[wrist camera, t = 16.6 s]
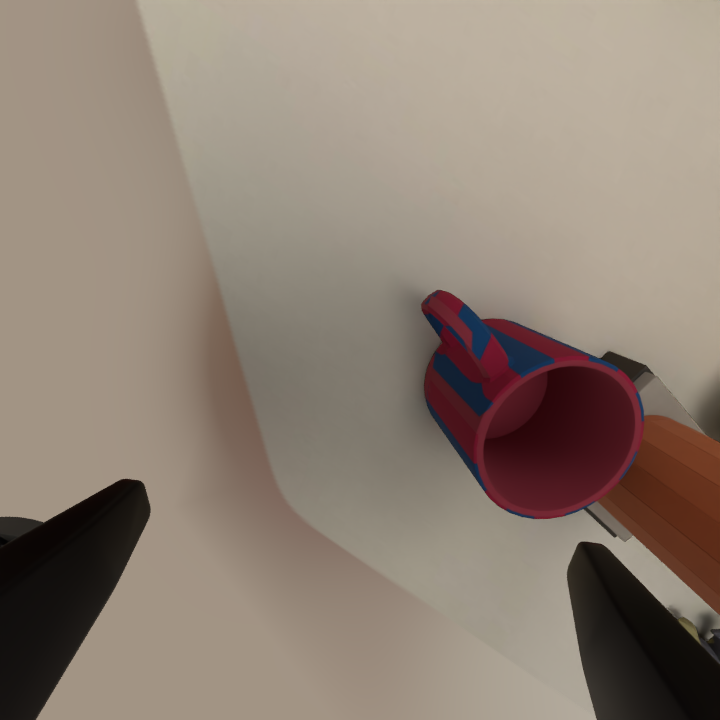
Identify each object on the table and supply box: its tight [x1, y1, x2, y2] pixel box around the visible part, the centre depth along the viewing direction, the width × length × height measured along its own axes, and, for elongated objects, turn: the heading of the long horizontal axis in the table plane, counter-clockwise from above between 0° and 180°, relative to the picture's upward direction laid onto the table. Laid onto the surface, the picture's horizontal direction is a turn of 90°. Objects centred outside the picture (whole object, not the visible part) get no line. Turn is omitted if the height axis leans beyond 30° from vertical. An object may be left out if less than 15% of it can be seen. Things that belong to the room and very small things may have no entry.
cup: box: [421, 290, 644, 519], centre depth 18 cm, size 7×10×7 cm
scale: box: [584, 351, 706, 542], centre depth 22 cm, size 7×7×3 cm
